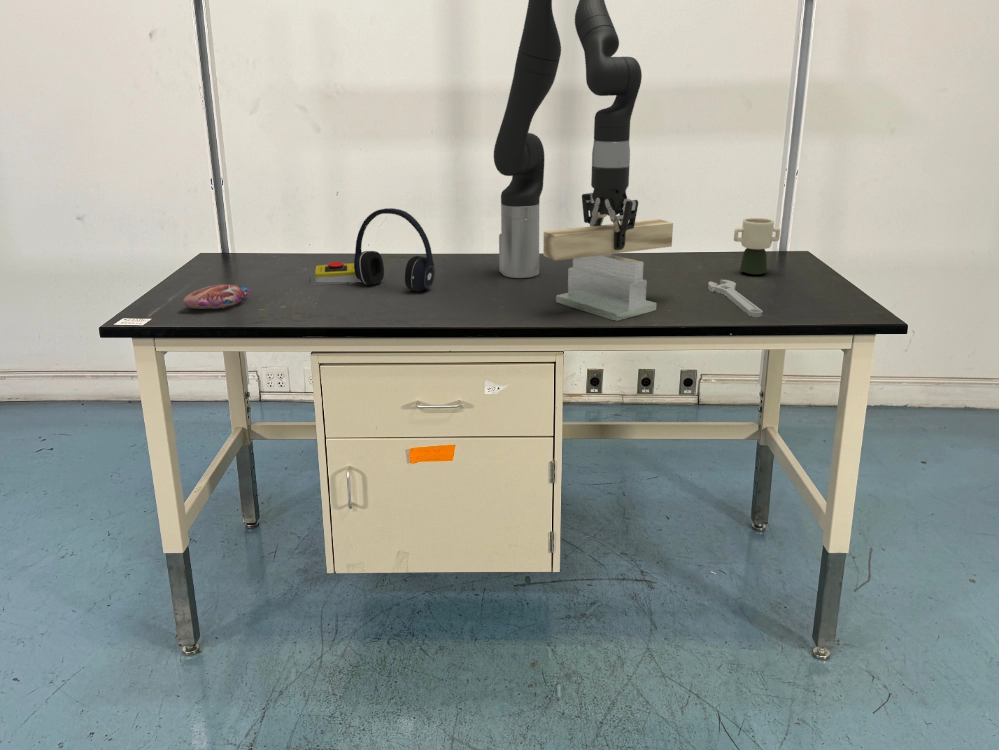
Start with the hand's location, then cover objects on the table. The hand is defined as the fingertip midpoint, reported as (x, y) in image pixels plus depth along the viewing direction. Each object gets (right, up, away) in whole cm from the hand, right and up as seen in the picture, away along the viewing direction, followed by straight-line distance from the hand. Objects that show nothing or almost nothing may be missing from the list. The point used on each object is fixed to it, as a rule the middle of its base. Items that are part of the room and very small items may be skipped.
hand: (607, 246), depth 167 cm
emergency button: (-61, -4, +29) cm, 68 cm away
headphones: (-47, -6, +21) cm, 52 cm away
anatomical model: (-83, -11, +9) cm, 85 cm away
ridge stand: (0, -12, +5) cm, 13 cm away
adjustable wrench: (+28, -11, +8) cm, 31 cm away
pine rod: (0, -1, 0) cm, 1 cm away
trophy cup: (+39, -2, +29) cm, 49 cm away
